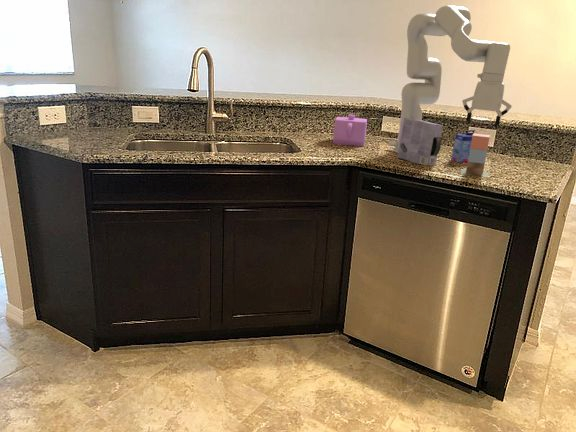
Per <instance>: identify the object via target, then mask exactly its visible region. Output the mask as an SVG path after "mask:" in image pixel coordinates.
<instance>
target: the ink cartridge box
mask: <svg viewBox="0 0 576 432" xmlns="http://www.w3.org/2000/svg"><path fill="white" fill-rule="evenodd" d="M475 132H476V129H473V130H470V129H469V130H468V131H467V132H466V133H456V134H455V137H454V143H453V149H452V154H451V158H450V161H453V162H456V163H468V158H469V153H470V147H471V141H472V136H473V134H474V133H475Z"/></svg>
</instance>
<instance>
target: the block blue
mask: <svg viewBox="0 0 576 432" xmlns="http://www.w3.org/2000/svg"><path fill="white" fill-rule="evenodd" d="M488 149H489V148H488ZM488 149H487V151H486V150H478V149H470V153H469V158H468V162H475V163H483V164H486V161H487V155H488Z"/></svg>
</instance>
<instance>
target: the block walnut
mask: <svg viewBox="0 0 576 432" xmlns="http://www.w3.org/2000/svg"><path fill="white" fill-rule="evenodd" d="M485 164H486V163H485ZM485 164H483V163H475V162H468V163H467V164H466V169H465V170H466V174H465V175H468V174H469V175H470V176H475V175H476V176H477V177H482V174H483V173H484V169H485Z"/></svg>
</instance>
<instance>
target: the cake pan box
mask: <svg viewBox="0 0 576 432" xmlns="http://www.w3.org/2000/svg"><path fill="white" fill-rule="evenodd" d="M443 128H444V125H443V124H439V123H433V122H429V121H427V120H417V119H413V118H404V123H403V129H402V134H401V140H400V146H399V151H398V153H397V159H402V160H405V161H408V162H411V163H413V164H417V165H420V164H421V165H420V166H424V165H426V166H433V165H436V164H437V157H438V154H439V153H440V151H441V146H442V133H443Z"/></svg>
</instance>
